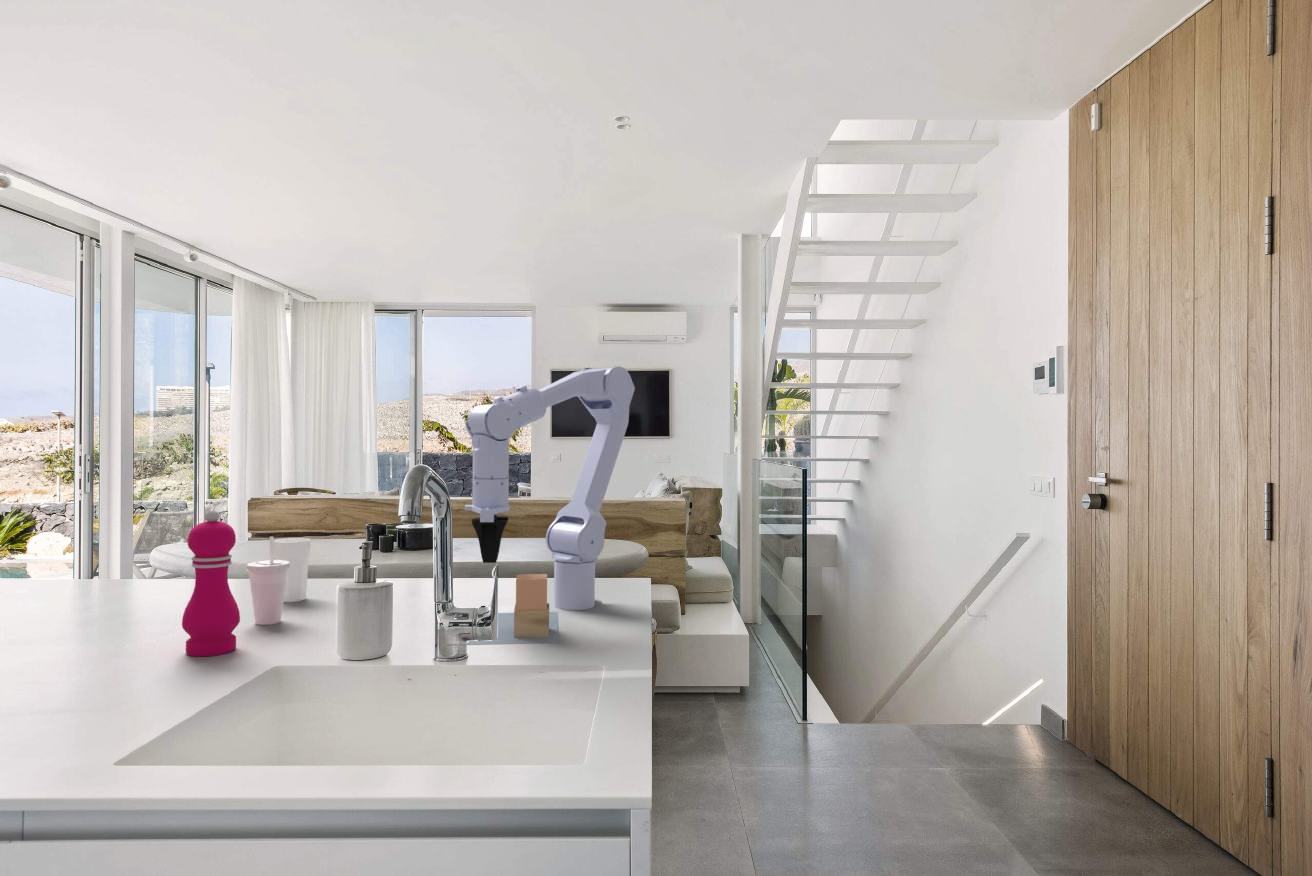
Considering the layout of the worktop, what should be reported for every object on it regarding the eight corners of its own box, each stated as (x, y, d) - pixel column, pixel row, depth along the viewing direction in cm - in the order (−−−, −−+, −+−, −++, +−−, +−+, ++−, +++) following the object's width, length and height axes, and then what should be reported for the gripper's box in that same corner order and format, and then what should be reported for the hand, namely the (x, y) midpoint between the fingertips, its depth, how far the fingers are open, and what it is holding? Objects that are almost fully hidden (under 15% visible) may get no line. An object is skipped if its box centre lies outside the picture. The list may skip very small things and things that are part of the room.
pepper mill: (174, 659, 110) (175, 513, 109) (190, 645, 116) (191, 508, 116) (233, 656, 111) (234, 512, 111) (244, 642, 118) (245, 507, 118)
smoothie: (272, 627, 127) (272, 539, 127) (236, 625, 129) (237, 538, 128) (297, 618, 134) (298, 534, 133) (264, 616, 135) (264, 533, 135)
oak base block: (515, 629, 125) (515, 603, 125) (549, 628, 126) (549, 602, 126) (513, 637, 120) (514, 610, 120) (549, 636, 120) (549, 610, 120)
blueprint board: (461, 618, 135) (461, 613, 135) (557, 616, 137) (557, 611, 137) (446, 650, 115) (446, 645, 115) (558, 647, 117) (558, 642, 117)
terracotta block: (517, 603, 125) (517, 574, 125) (546, 603, 125) (547, 573, 125) (515, 610, 120) (516, 579, 120) (546, 609, 121) (547, 579, 121)
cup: (273, 596, 151) (274, 538, 151) (311, 595, 153) (312, 537, 153) (268, 604, 145) (268, 543, 144) (307, 602, 146) (308, 542, 146)
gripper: (469, 475, 136) (469, 555, 136) (460, 480, 122) (459, 570, 122) (512, 475, 137) (511, 555, 137) (507, 481, 123) (506, 569, 123)
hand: (489, 562), depth 130 cm, fingers closed
